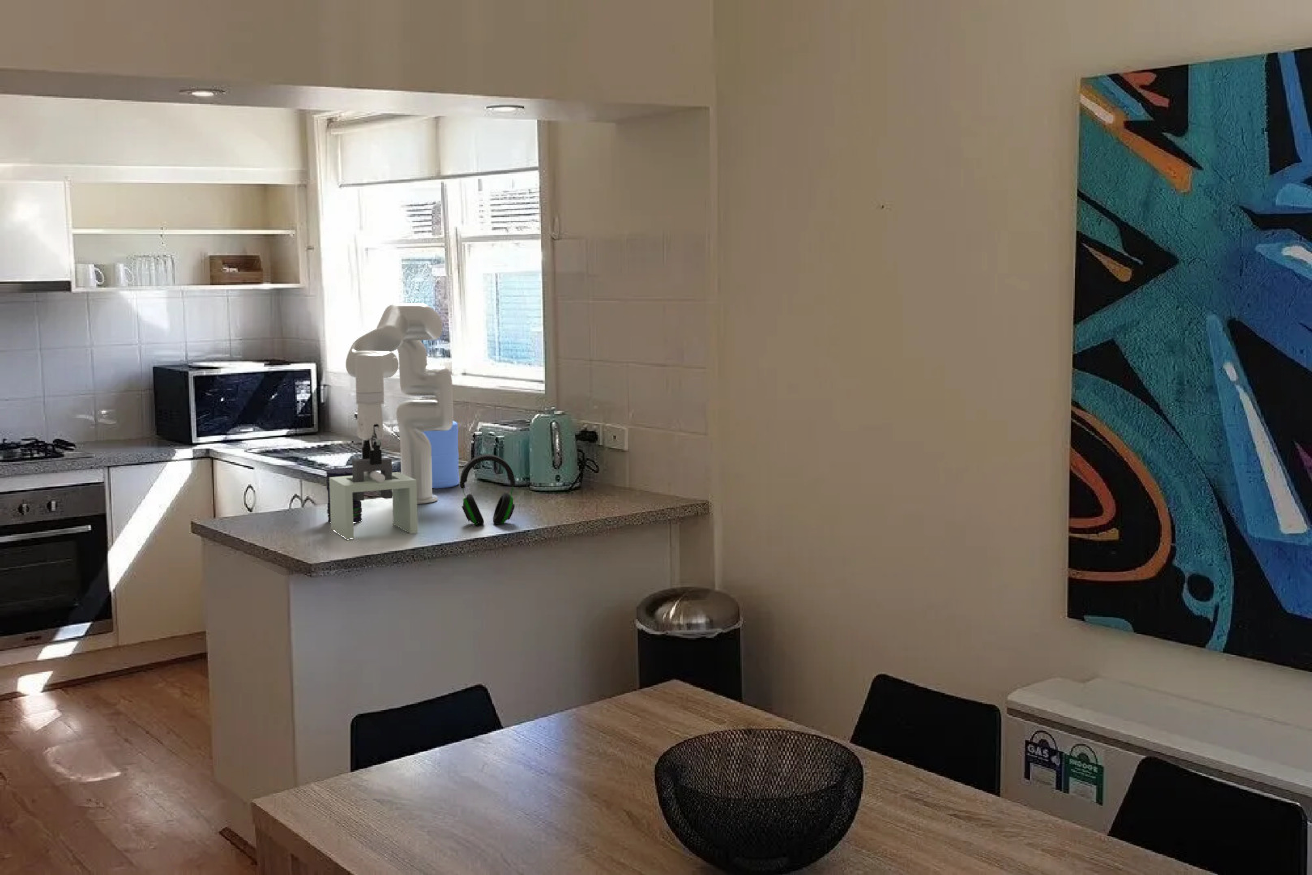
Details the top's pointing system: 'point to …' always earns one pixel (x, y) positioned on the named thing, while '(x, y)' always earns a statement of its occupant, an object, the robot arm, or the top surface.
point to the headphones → (505, 501)
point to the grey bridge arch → (365, 466)
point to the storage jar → (356, 504)
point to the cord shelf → (400, 485)
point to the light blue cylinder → (444, 457)
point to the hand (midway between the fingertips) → (372, 462)
